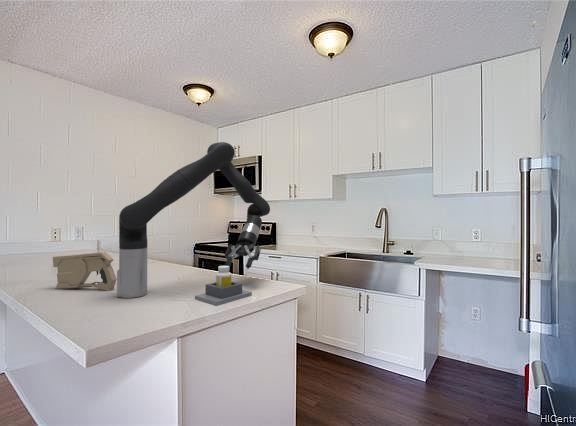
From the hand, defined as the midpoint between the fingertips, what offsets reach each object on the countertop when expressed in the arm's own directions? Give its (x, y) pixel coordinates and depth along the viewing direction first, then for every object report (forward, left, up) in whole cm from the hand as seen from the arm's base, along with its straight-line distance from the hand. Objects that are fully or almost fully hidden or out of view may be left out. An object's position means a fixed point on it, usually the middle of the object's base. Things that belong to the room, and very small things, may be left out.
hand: (237, 266), depth 119 cm
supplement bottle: (-5, -10, -8) cm, 14 cm away
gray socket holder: (-5, -11, -9) cm, 15 cm away
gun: (-60, +9, -9) cm, 61 cm away
